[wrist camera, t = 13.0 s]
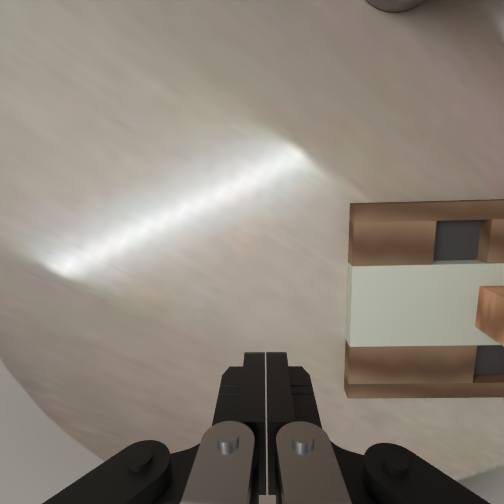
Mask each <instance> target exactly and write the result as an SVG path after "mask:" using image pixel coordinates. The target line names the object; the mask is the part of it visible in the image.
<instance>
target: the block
mask: <svg viewBox="0 0 504 504" xmlns="http://www.w3.org/2000/svg"><path fill="white" fill-rule="evenodd" d="M475 327H476V328H478V329H479V330H481V331H482V332H483V333H485V334H486V335H488V336H489V337H491V338H492V339H494V340H495V341H496V342H498V343H499V344H501V345H502V346H504V285H503V286H480V288H479V296H478V305H477V313H476V321H475Z"/></svg>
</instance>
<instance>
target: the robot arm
mask: <svg viewBox="0 0 504 504" xmlns="http://www.w3.org/2000/svg"><path fill="white" fill-rule="evenodd" d="M367 1H368V2H369V3H370V4H371V5H373V6H375V7H376V8H378V9H381V10H384V11H390V12H399V11H405V10H408V9H410V8H413V7H415V6H417V5H418V4H420V3H421V2H423V1H424V0H367ZM266 361H267V433H268V494H269V495H276V504H490V503H488V502H487V501H485V500H484V499H482V498H481V497H479V496H478V495H476V494H475V493H473V492H471V491H470V490H469V489H467V488H465V487H464V486H463V485H461V484H460V483H458V482H456V481H455V480H453V479H452V478H450V477H449V476H447V475H446V474H444V473H443V472H441V471H440V470H438V469H437V468H435V467H434V466H432V465H431V464H429V463H428V462H426V461H425V460H423V459H422V458H420V457H419V456H417V455H416V454H414V453H413V452H411V451H409V450H408V449H406V448H404V447H402V446H399V445H396V444H391V443H379V444H375V445H372V446H371V447H369V448H368V449H367V451H366V452H365V455H361V454H357V453H354V452H350V451H347V450H344V449H342V448H340V447H338V446H336V445H335V444H333V443H332V442H331V441H330V439H329V437H328V435H327V434H326V432H325V431H324V430H323V429H322V426H321V422H320V418H319V413H318V409H317V405H316V400H315V396H314V392H313V387H312V383H311V379H310V375H309V374H308V373H307V372H306V371H305V370H304V368H303V367H302V366H288V361H287V353H286V352H266ZM259 495H266V429H265V352H245V355H244V364H243V367H229V368H228V369H227V370H226V372H225V373H224V374H223V375H222V379H221V384H220V389H219V395H218V399H217V404H216V408H215V413H214V418H213V423H212V426H211V427H210V428H209V429H208V430H207V431H206V432H205V433H204V435H203V437H202V440H201V443H200V444H198V445H196V446H195V447H192V448H190V449H187V450H184V451H180V452H176V453H172V454H170V452H169V449H168V448H167V446H166V445H164V444H163V443H161V442H159V441H155V440H145V441H140V442H137V443H134V444H132V445H130V446H128V447H126V448H125V449H123V450H122V451H120V452H119V453H117V454H116V455H114V456H113V457H111V458H110V459H108V460H107V461H105V462H104V463H103V464H101V465H99V466H98V467H96V468H95V469H93V470H92V471H90V472H89V473H87V474H86V475H84V476H83V477H81V478H80V479H78V480H77V481H75V482H74V483H72V484H71V485H69V486H68V487H66V488H65V489H63V490H62V491H60V492H59V493H58V494H56V495H55V496H53V497H52V498H50V499H49V500H47V501H46V502H44V503H43V504H259Z"/></svg>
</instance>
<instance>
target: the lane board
mask: <svg viewBox="0 0 504 504" xmlns="http://www.w3.org/2000/svg"><path fill="white" fill-rule="evenodd" d="M503 285H504V199H496V200H459V201H422V202H385V203H350V222H349V253H348V285H347V316H346V347H345V379H344V389H345V392H346V395H347V397H348V398H471V397H504V346H502V345H501V344H499V343H498V342H496V341H495V340H494V339H492V338H491V337H489V336H488V335H486V334H485V333H483V332H482V331H481V330H479V329H478V328H476V327H475V321H476V313H477V305H478V296H479V288H480V286H503Z"/></svg>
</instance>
